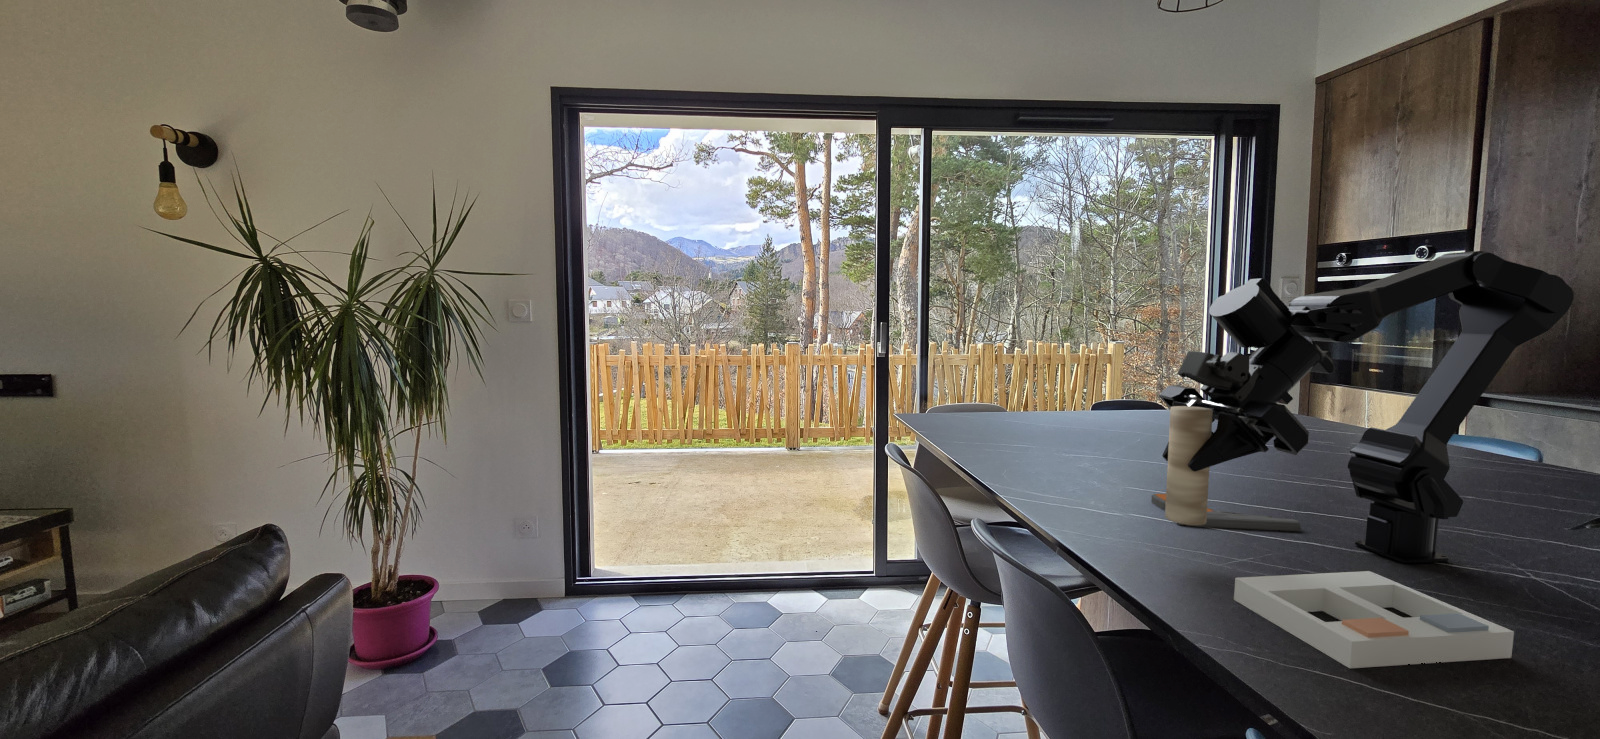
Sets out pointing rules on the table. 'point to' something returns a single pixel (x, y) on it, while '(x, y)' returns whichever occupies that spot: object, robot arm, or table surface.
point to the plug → (1183, 483)
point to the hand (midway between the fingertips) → (1177, 463)
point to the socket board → (1372, 619)
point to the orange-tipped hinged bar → (1237, 519)
